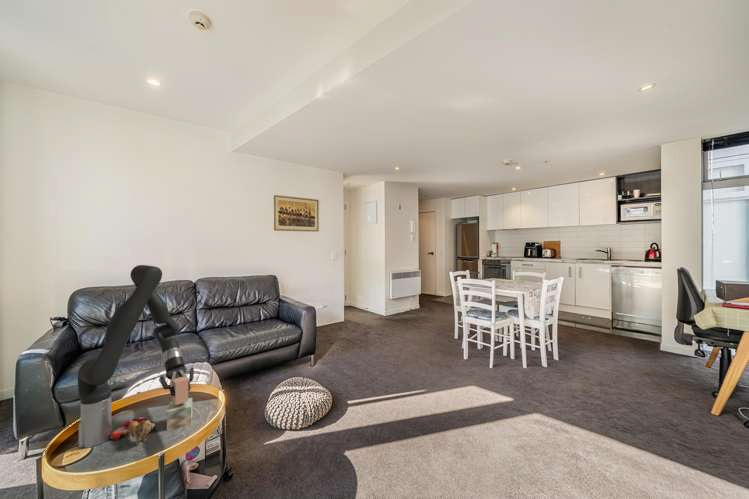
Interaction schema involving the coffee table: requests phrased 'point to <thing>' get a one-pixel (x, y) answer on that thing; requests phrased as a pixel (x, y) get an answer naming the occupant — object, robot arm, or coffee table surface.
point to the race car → (125, 428)
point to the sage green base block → (179, 414)
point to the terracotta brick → (180, 390)
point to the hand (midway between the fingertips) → (181, 393)
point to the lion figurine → (140, 430)
